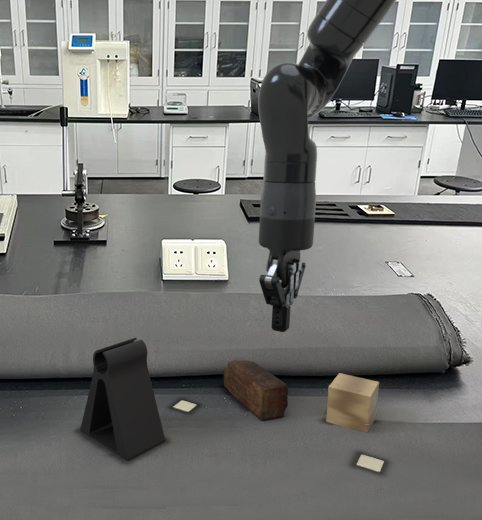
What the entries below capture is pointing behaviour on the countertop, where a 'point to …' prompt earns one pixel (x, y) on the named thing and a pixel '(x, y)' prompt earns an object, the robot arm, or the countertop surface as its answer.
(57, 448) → the countertop surface
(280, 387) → the brick
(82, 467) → the countertop surface
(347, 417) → the birch block
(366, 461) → the line marks
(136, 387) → the phone stand
